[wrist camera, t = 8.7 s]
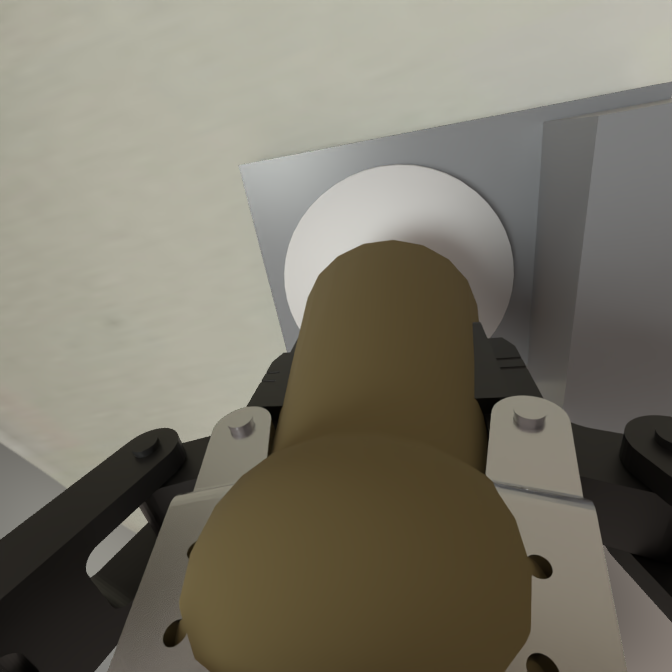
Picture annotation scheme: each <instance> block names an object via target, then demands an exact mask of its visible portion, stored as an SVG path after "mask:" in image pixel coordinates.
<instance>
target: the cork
mask: <svg viewBox="0 0 672 672" xmlns="http://www.w3.org/2000/svg"><path fill="white" fill-rule="evenodd" d="M473 322H479V317H478V307H477V303H476V300H475V298H474V295H473V293H472V290H471V287H470V285H469V282H468V280H467V279H466V278H465V277H464V276H463V274H462V273H461V272H460V271H459V270H458V269H457V268H456V267H455V266H454V264H453V263H452V262H451V261H450V260H449V259H447V258H446V257H444V256H442V255H440V254H438V253H436V252H435V251H433V250H431V249H429V248H427V247H425V246H424V245H420V244H414V243H408V242H403V241H397V240H388V241H380V242H373V243H365V244H362V245H360V246H358V247H356V248H354V249H352V250H350V251H347V252H345V253H343V254H341V255H339V256H337V257H336V258H335V259H334V260H333V261H332V262H331V263H330V264H329V265H328V266H327V267H326V268H325V269H324V270H323V271H322V272H321V273H320V274H319V275H318V277H317V279H316V281H315V284H314V286H313V288H312V290H311V292H310V294H309V296H308V298H307V302H306V307H305V311H304V315H303V319H302V323H301V327H300V332H299V336H298V340H297V344H296V348H295V353H294V357H293V361H292V365H291V369H290V374H289V379H288V384H287V388H286V393H285V398H284V403H283V406H282V408H281V411H280V415H279V420H278V424H277V428H276V432H275V436H274V441H273V445H272V451H271V455H270V456H268V457H267V458H266V459H264V460H263V461H262V462H260V463H259V464H258V465H256V466H255V467H253V468H252V469H251V470H249V471H248V472H247V473H245V474H244V475H242V476H241V477H240V478H239V480H238V481H237V482H236V483H235V484H234V485H233V486H232V488H231V489H230V490H229V491H228V492H227V493H226V494H225V495H224V497H223V498H222V499H221V500H220V501H219V502H218V503H217V504H216V506H215V507H214V509H213V511H212V513H211V515H210V517H209V519H208V521H207V523H206V524H205V526H204V528H203V530H202V532H201V534H200V536H199V538H198V540H197V541H196V543H195V545H194V547H193V549H192V551H191V553H190V555H189V561H188V566H187V570H186V574H185V578H184V582H183V587H182V591H181V595H180V599H179V608H180V612H181V616H182V620H181V621H180V622H179V625H178V629H177V633H176V638H175V645H174V646H176V645H178V644H179V643H180V642H181V641H182V640H183V639H184V638H185V636H186V634H187V635H188V639H189V642H190V645H191V648H192V652H193V655H194V658H195V660H197V661H198V662H199V663H200V664H201V665H203V666H204V667H205V668H206V669H207V670H209V671H210V672H505V670H506V669H507V668H508V666H509V665H510V664H511V662H512V661H513V660H514V658H515V657H516V655H517V654H518V653H519V651H520V650H521V649H522V647H523V646H524V645H525V643H526V641H527V639H528V637H529V635H530V632H531V597H532V575H533V576H534V577H536V578H539V579H548V578H547V576H546V575H545V573H544V572H543V570H542V569H541V568H540V566H539V565H538V564H537V563H536V562H535V561H534V560H533V559H531V558H530V557H527V553H526V550H525V547H524V544H523V541H522V538H521V535H520V532H519V528H518V525H517V522H516V519H515V517H514V516H513V514H512V513H511V511H510V510H509V508H508V507H507V505H506V504H505V502H504V501H503V499H502V498H501V496H500V495H499V493H498V491H497V490H496V488H495V486H494V482H493V481H491V480H490V479H489V478H488V477H487V476H486V465H487V454H488V443H489V439H488V434H487V429H486V424H485V418H484V415H483V413H482V411H481V408H480V406H479V404H478V402H477V401H476V400H475V399H474V346H473V326H472V323H473ZM526 669H527V672H544V671H543V669H542V668H541V667H540V666H539V665H538V664H537V663H536V662H534V661H529V662H528V663H527V664H526Z"/></svg>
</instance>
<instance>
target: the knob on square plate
mask: <svg viewBox="0 0 672 672" xmlns="http://www.w3.org/2000/svg"><path fill="white" fill-rule="evenodd" d="M671 97H672V82H668V83H662V84H657V85H652V86H647V87H642V88H636V89H631V90H626V91H621V92H616V93H611V94H605V95H600V96H595V97H590V98H585V99H579V100H574V101H569V102H564V103H559V104H553V105H548V106H543V107H538V108H533V109H528V110H522V111H517V112H512V113H507V114H502V115H496V116H491V117H486V118H481V119H476V120H470V121H465V122H460V123H455V124H450V125H445V126H439V127H434V128H429V129H424V130H419V131H413V132H408V133H403V134H398V135H393V136H388V137H382V138H377V139H372V140H367V141H362V142H356V143H351V144H346V145H341V146H336V147H330V148H325V149H320V150H315V151H310V152H305V153H299V154H294V155H289V156H284V157H279V158H273V159H268V160H263V161H258V162H253V163H247V164H242V165H239V169H240V173H241V177H242V181H243V184H244V188H245V192H246V196H247V200H248V204H249V207H250V211H251V215H252V219H253V223H254V227H255V231H256V234H257V238H258V242H259V246H260V250H261V254H262V257H263V261H264V265H265V269H266V273H267V277H268V280H269V284H270V288H271V292H272V296H273V300H274V303H275V307H276V311H277V315H278V319H279V323H280V326H281V330H282V334H283V338H284V342H285V346H286V350H287V353H288V352H291V350H292V348H293V346H294V344H295V342H296V340H297V338H298V336H299V332H300V327H301V323H302V319H303V315H304V311H305V307H306V302H307V298H308V296H309V294H310V292H311V290H312V288H313V286H314V284H315V281H316V279H317V277H318V275H319V274H320V273H321V272H322V271H323V270H324V269H325V268H326V267H327V266H328V265H329V264H330V263H331V262H332V261H333V260H334V259H335V258H336V257H337V256H339V255H341V254H343V253H345V252H347V251H350V250H352V249H354V248H356V247H358V246H360V245H362V244H365V243H373V242H380V241H388V240H397V241H403V242H408V243H414V244H420V245H424V246H425V247H427V248H429V249H431V250H433V251H435V252H436V253H438V254H440V255H442V256H444V257H446V258H447V259H449V260H450V261H451V262H452V263H453V264H454V266H455V267H456V268H457V269H458V270H459V271H460V272H461V273H462V274H463V276H464V277H465V278H466V279H467V280H468V282H469V285H470V287H471V290H472V293H473V295H474V298H475V300H476V303H477V307H478V317H479V322H481V324H482V326H483V329H484V331H485V334H486V336H487V338H499V337H502V338H504V339H505V340H507V341H508V342H510V343H512V344H513V345H515V346H516V348H517V350H518V352H519V354H520V356H521V359H523V361H524V363H525V365H526V368H527V369H528V370H529V372H530V374H531V376H532V378H533V380H534V382H535V383H536V385H537V387H538V389H539V391H540V393H541V395H542V396H543V398H544V399H545V400H548V401H550V402H553V403H555V404H556V405H558V406H559V407H561V408H562V409H563V410H564V411H565V412H566V413H567V415H568V416H569V418H570V422H572V423H575V424H577V425H581V426H584V427H588V428H593V429H599V430H604V431H610V432H616V433H622V434H623V433H624V429H625V426H626V424H627V423H628V422H629V421H631V420H632V419H634V418H637V417H641V416H647V415H662V416H670V417H672V98H671Z"/></svg>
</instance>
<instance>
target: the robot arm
mask: <svg viewBox="0 0 672 672" xmlns="http://www.w3.org/2000/svg"><path fill="white" fill-rule="evenodd" d="M472 326H473V346H474V399H475V400H476V401H477V402H478V404H479V406H480V408H481V411H482V413H483V415H484V418H485V424H486V429H487V434H488V439H489V443H488V454H487V465H486V476H487V477H488V478H489V479H490V480H491V481H493V482H494V486H495V488H496V490H497V491H498V493H499V495H500V496H501V498H502V499H503V501H504V502H505V504H506V505H507V507H508V508H509V510H510V511H511V513H512V514H513V516H514V517H515V519H516V522H517V525H518V528H519V532H520V535H521V538H522V541H523V544H524V547H525V550H526V553H527V557H530V558H531V559H533V560H534V561H535V562H536V563H537V564H538V565H539V566H540V568H541V569H542V570H543V572H544V573H545V575H546V576H547V578H548V579H539V578H536V577H534V576H533V575H532V597H531V632H530V635H529V637H528V639H527V641H526V643H525V645H524V646H523V647H522V649H521V650H520V651H519V653H518V654H517V655H516V657H515V658H514V660H513V661H512V662H511V664H510V665H509V666H508V668H507V669H506V670H505V672H527V669H526V664H527V663H528V662H529V661H534V662H536V663H537V664H538V665H539V666H540V667H541V668H542V669H543V671H544V672H627V668H626V662H625V658H624V652H623V647H622V642H621V637H620V632H619V627H618V621H617V616H616V611H615V606H614V601H613V596H612V590H611V585H610V580H609V575H608V570H607V565H606V560H605V554H604V549H603V545H605V546H606V548H607V549H608V551H609V552H610V554H611V555H612V556H613V557H614V558H615V560H616V561H617V562H618V563H619V564H620V565H621V566H622V567H623V568H624V570H625V571H626V572H627V573H628V574H629V575H630V576H631V577H632V578H633V579H634V581H635V582H636V583H637V584H638V585H639V586H640V587H641V589H642V590H643V591H644V592H645V593H646V594H647V595H648V596H649V597H650V599H651V600H652V601H653V602H654V603H655V604H656V605H657V606H658V607H659V609H660V610H661V611H662V612H663V613H664V614H665V615H666V616H667V617H668V619H669V620H670V621H671V622H672V417H670V416H662V415H647V416H641V417H637V418H634V419H632V420H631V421H629V422H628V423H627V424H626V426H625V429H624V433H623V434H622V433H616V432H610V431H604V430H599V429H593V428H588V427H584V426H581V425H577V424H575V423H572V422H570V418H569V416H568V415H567V413H566V412H565V411H564V410H563V409H562V408H561V407H559V406H558V405H556V404H555V403H553V402H550V401H548V400H545V399H544V398H543V396H542V395H541V393H540V391H539V389H538V387H537V385H536V383H535V382H534V380H533V378H532V376H531V374H530V372H529V370H528V369H527V368H526V365H525V363H524V361H523V359H521V356H520V354H519V352H518V350H517V348H516V346H515V345H513V344H512V343H510V342H508V341H507V340H505V339H504V338H502V337H499V338H487V336H486V334H485V331H484V329H483V326H482V324H481V322H473V323H472ZM297 340H298V338H297ZM297 340H296V342H295V344H294V346H293V348H292V350H291V352H288V353H283V354H282V355H280V356H279V357H278V358H277V359H275V360H274V361H273V362H272V364H271V365H270V367H269V369H268V370H267V374H265V376H264V377H263V379H262V383H260V384H259V386H258V388H257V389H256V391H255V393H254V395H253V396H252V398H251V400H250V402H249V403H248V405H247V407H245V408H241V409H238V410H235V411H233V412H231V413H229V414H227V415H226V416H224V417H223V418H222V419H221V420H219V421H218V423H217V424H216V425H215V427H214V428H213V431H212V434H211V436H209V437H205V438H201V439H197V440H193V441H189V442H185V443H182V442H181V440H180V438H179V436H178V434H177V432H176V431H175V430H173V429H169V428H159V429H154V430H151V431H148V432H146V433H143V434H141V435H139V436H137V437H136V438H134V439H133V440H131V441H130V442H128V443H127V444H126V445H124V446H123V447H122V448H120V449H119V450H118V451H116V452H115V453H114V454H113V455H111V456H110V457H109V458H107V459H106V460H105V461H103V462H102V463H101V464H99V465H98V466H97V467H95V468H94V469H93V470H91V471H90V472H89V473H88V474H86V475H85V476H84V477H82V478H81V479H80V480H78V481H77V482H76V483H74V484H73V485H72V486H70V487H69V488H68V489H66V490H65V491H64V492H63V493H61V494H60V495H59V496H57V497H56V498H55V499H53V500H52V501H51V502H49V503H48V504H47V505H45V506H44V507H43V508H41V509H40V510H39V511H37V512H36V513H35V514H34V515H33V516H31V517H30V518H28V519H27V520H26V521H24V522H23V523H22V524H20V525H19V526H18V527H16V528H15V529H14V530H12V531H11V532H10V533H9V534H7V535H6V536H5V537H3V538H2V539H1V540H0V672H94V671H95V670H96V669H97V668H98V667H99V666H100V664H101V663H102V662H103V661H104V660H105V658H106V657H107V656H108V655H109V653H110V652H111V651H112V650H113V649H114V648H115V646H116V645H117V647H116V650H115V652H114V655H113V658H112V660H111V663H110V666H109V669H108V671H107V672H210V671H209V670H207V669H206V668H205V667H204V666H203V665H201V664H200V663H199V662H198V661H197V660H195V658H194V655H193V652H192V648H191V645H190V642H189V639H188V635H187V634H186V636H185V638H184V639H183V640H182V641H181V642H180V643H179V644H178V645H176V646H174V645H175V638H176V633H177V629H178V625H179V622H180V621H181V620H182V616H181V612H180V608H179V599H180V595H181V591H182V587H183V582H184V578H185V574H186V570H187V566H188V561H189V555H190V553H191V551H192V549H193V547H194V545H195V543H196V541H197V540H198V538H199V536H200V534H201V532H202V530H203V528H204V526H205V524H206V523H207V521H208V519H209V517H210V515H211V513H212V511H213V509H214V507H215V506H216V504H217V503H218V502H219V501H220V500H221V499H222V498H223V497H224V495H225V494H226V493H227V492H228V491H229V490H230V489H231V488H232V486H233V485H234V484H235V483H236V482H237V481H238V480H239V478H240V477H241V476H242V475H244V474H245V473H247V472H248V471H249V470H251V469H252V468H253V467H255V466H256V465H258V464H259V463H260V462H262V461H263V460H264V459H266V458H267V457H268V456H270V455H271V451H272V445H273V441H274V436H275V432H276V428H277V424H278V420H279V415H280V411H281V408H282V406H283V403H284V398H285V393H286V388H287V384H288V379H289V374H290V369H291V365H292V361H293V357H294V353H295V348H296V344H297ZM138 507H140V509H141V511H142V512H143V514H144V516H145V518H146V519H147V521H148V523H147V524H146V525H145V526H144V527H143V528H142V529H141V530H140V531H139V532H138V533H137V534H136V535H135V536H134V537H133V538H132V539H131V540H130V541H129V542H128V543H127V544H126V545H125V546H124V547H123V548H122V549H121V550H120V551H119V552H118V553H117V554H116V555H115V556H114V557H113V558H112V559H111V560H110V561H109V562H108V563H107V564H106V565H105V566H104V567H103V568H102V569H101V570H100V571H99V572H97V573H96V574H95V575H94V576H92V577H91V578H90V577H89V576H88V574H87V572H86V563H87V560H88V557H89V555H90V554H91V552H92V551H93V549H94V548H95V547H96V546H97V545H98V544H99V543H100V542H101V541H102V540H104V539H105V538H106V537H107V536H108V535H109V534H110V533H111V532H112V531H113V530H114V529H115V528H116V527H118V525H120V524H121V523H122V522H123V521H124V520H125V519H126V518H127V517H128V516H129V515H130V514H132V513H133V512H134V511H135V510H136V509H137V508H138Z"/></svg>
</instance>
